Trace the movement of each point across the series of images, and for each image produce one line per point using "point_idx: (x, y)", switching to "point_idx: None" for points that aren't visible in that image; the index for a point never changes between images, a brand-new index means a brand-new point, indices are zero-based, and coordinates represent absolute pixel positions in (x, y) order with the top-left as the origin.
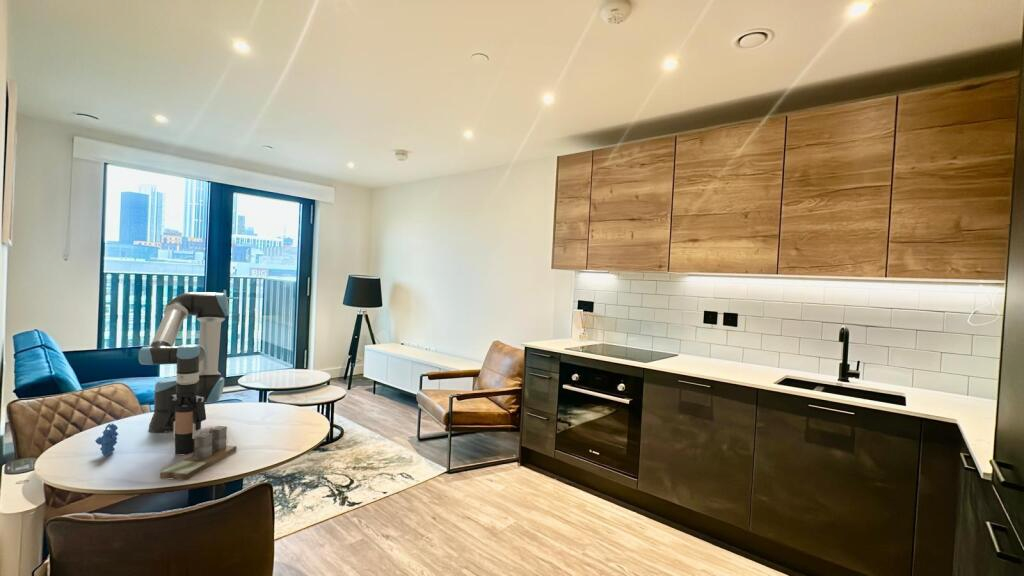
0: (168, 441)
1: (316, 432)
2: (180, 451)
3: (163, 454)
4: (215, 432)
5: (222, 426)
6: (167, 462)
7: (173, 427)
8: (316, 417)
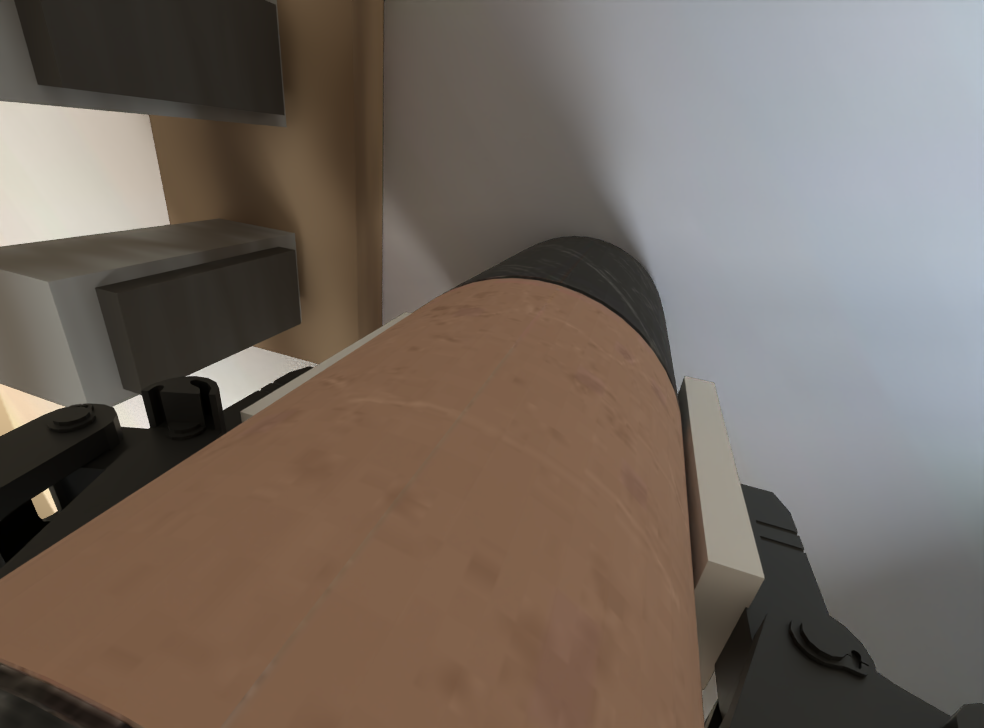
0: (887, 571)
1: None
2: (567, 239)
3: (768, 245)
4: (44, 259)
5: (29, 384)
6: (594, 17)
7: (757, 501)
8: None
